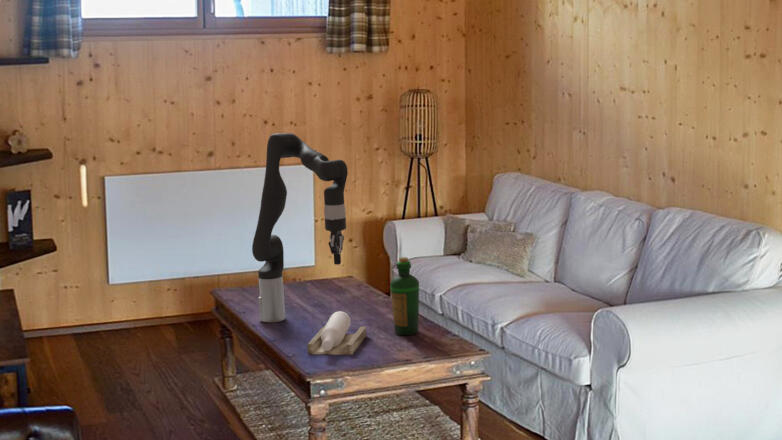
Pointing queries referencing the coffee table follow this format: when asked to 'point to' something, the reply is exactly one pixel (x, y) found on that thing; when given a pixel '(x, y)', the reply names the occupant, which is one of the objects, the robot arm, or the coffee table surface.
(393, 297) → the bottle
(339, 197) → the robot arm
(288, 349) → the coffee table surface
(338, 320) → the bottle
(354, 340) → the cradle
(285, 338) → the coffee table surface
